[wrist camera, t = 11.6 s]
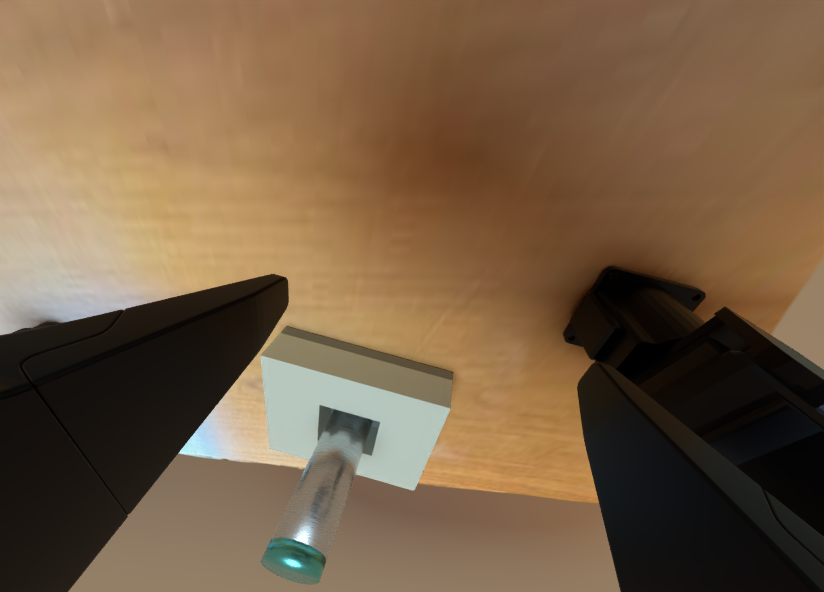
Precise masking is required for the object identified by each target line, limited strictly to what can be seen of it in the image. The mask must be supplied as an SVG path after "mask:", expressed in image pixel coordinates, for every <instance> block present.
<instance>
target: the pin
mask: <svg viewBox="0 0 824 592" xmlns="http://www.w3.org/2000/svg"><path fill="white" fill-rule="evenodd" d="M372 423H373V420H371V419H368V418H364V417H361V416H357V415H354V414H350V413H347V412H343V411H339V410H336V409H334V410H333V412H332V414H331V416H330V418H329V421H328V423H327V425H326V427H325V429H324V431H323V433H322V435H321V437H320V439H319V441H318V443H317V445H316V447H315V449H314V452H313V454H312V456H311V458H310V460H309V462H308V464H307V466H306V468H305V470H304V472H303V474H302V476H301V478H300V480H299V483H298V485H297V487H296V489H295V491H294V493H293V495H292V497H291V499H290V501H289V503H288V505H287V507H286V510H285V512H284V514H283V516H282V518H281V520H280V522H279V524H278V526H277V528H276V530H275V532H274V535H273V536H272V538H271V540H270V543H269V545H268V547H267V549H266V551H265V553H264V555H263V557H262V559H261V563H262V565H263V566H264V567H265V568H266V569H268V570H269V571H271V572H272V573H274V574H276V575H278V576H280V577H282V578H285V579H287V580H290V581H294V582H297V583H302V584H317V583H319V581H320V578H321V575H322V572H323V569H324V566H325V563H326V560H327V557H328V554H329V551H330V548H331V545H332V542H333V539H334V536H335V533H336V531H337V528H338V524H339V521H340V519H341V516H342V512H343V510H344V506H345V503H346V501H347V497H348V495H349V491H350V489H351V486H352V483H353V480H354V476H355V474H356V471H357V468H358V465H359V462H360V459H361V456H362V453H363V450H364V447H365V444H366V441H367V438H368V435H369V432H370V429H371V426H372Z"/></svg>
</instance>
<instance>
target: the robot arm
mask: <svg viewBox="0 0 824 592" xmlns="http://www.w3.org/2000/svg"><path fill="white" fill-rule="evenodd" d="M613 272H615V274H614V275H613V276H611V277H610V276H609V274H610V273H613ZM695 294H696V296H695V297H692V296H693V295H695ZM704 298H705V293H704V292H703V291H702V290H700V289H698V288H695V287H691V286H687V285H684V284H680V283H676V282H672V281H668V280H664V279H661V278H657V277H653V276H649V275H645V274H641V273H637V272H634V271H630V270H626V269H622V268H618V267H613V266H611V267H608V268H606V269H605V270H604V271H603V272H602V274H601V275H600V277H599V279H598V280H597V282H596V283H595V285H594V286H593V288H592V290H591V291H590V292H589V293H587V294H586V296H585V297H584V299H583V301H582V302H581V304H580V305H579V307H578V308H577V310H576V312H575V313H574V315H573V316H572V318H571V320H570V321H571V323H570V324H569V326H568V327H567V329H566V331H565V332H564V334H563V337H564V339H565V341H566V342H567V343H570V344H574V345H578V346H582V347H584V349H585V351H586V353H587V355H588V357H589V358H590V359H591V360H594V361H595V363H593V364H592V365H591V366H590V367H589V369H588V370H587V371H586V373H585V374H584V375H583V376H582V378H581V379H580V381H579V383H578V386H577V391H578V399H579V406H580V414H581V422H582V429H583V436H584V441H585V446H586V451H587V455H588V459H589V463H590V467H591V471H592V475H593V479H594V484H595V488H596V492H597V496H598V500H599V504H600V508H601V512H602V517H603V520H604V525H605V529H606V533H607V537H608V541H609V545H610V550H611V554H612V558H613V562H614V566H615V570H616V574H617V578H618V583H619V587H620V591H621V592H824V370H823V369H821V368H820V367H819V366H817V365H816V364H814V363H813V362H811V361H810V360H808V359H807V358H805V357H804V356H803V355H801V354H800V353H798V352H797V351H795V350H794V349H792V348H790V347H789V346H787V345H786V344H784V343H783V342H781V341H779V340H778V339H776V338H775V337H773V336H771V335H770V334H768V333H767V332H765V331H764V330H762V329H760V328H759V327H757V326H756V325H754V324H752V323H751V322H749V321H748V320H746V319H745V318H743V317H741V316H740V315H738V314H737V313H735V312H733V311H732V310H730V309H729V308H727V307H723V308H722V309H720V310H719V311H718V312H716V313H715V315H716V316H715V317H713V318H712V319H710V320H709V321H707V322H706V323H705V322H704V321H703V320H702V319H700V318H699V317H698V316H697V315H696V314H695V313H693V311H694V310H695V309H696V308H697V306H698V305H699V304H700V303H701V302H702V301H703V300H704ZM288 302H289V296H288V280H287V278H286V277H283V276H279V275H276V274H270V275H265V276H261V277H257V278H253V279H249V280H244V281H240V282H236V283H232V284H227V285H223V286H219V287H215V288H211V289H206V290H202V291H198V292H194V293H190V294H185V295H181V296H177V297H173V298H168V299H164V300H160V301H156V302H152V303H147V304H143V305H139V306H135V307H131V308H126V309H125V310H117V311H113V312H109V313H105V314H101V315H96V316H92V317H87V318H83V319H79V320H74V321H70V322H65V323H60V324H55V325H50V326H45V327H40V328H35V329H30V330H25V331H20V332H15V333H10V334H5V335H0V592H68V591H69V590H70V589H71V587H72V586H73V585H74V584H75V582H76V581H77V580H78V579H79V577H80V576H81V575H82V574H83V572H84V571H85V570H86V568H87V567H88V566H89V565H90V563H91V562H92V561H93V560H94V559H95V557H96V556H97V555H98V553H99V552H100V551H101V550H102V548H103V547H104V546H105V545H106V544H107V542H108V541H109V540H110V538H111V537H112V536H113V535H114V533H115V532H116V531H117V530H118V528H119V527H120V526H121V525H122V523H123V522H124V521H125V520H126V518H127V517H128V514H130V513H131V512H132V510H133V509H134V508H135V507H136V505H137V504H138V503H139V502H140V500H141V499H142V498H143V496H144V495H145V494H146V493H147V492H148V490H149V489H150V488H151V487H152V485H153V484H154V483H155V481H156V480H157V479H158V478H159V476H160V475H161V474H162V473H163V472H164V470H165V469H166V468H167V467H168V465H169V464H170V463H171V462H172V460H173V459H174V458H175V457H176V455H177V454H178V453H179V452H180V450H181V449H182V448H183V447H184V445H185V444H186V443H187V441H188V440H189V439H190V438H191V436H192V435H193V434H194V433H195V431H196V430H197V429H198V428H199V426H200V425H201V424H202V423H203V421H204V420H205V419H206V418H207V416H208V415H209V414H210V413H211V411H212V410H213V409H214V408H215V406H216V405H217V404H218V403H219V401H220V400H221V399H222V398H223V396H224V395H225V394H226V393H227V391H228V390H229V389H230V388H231V386H232V385H233V384H234V383H235V381H236V380H237V379H238V378H239V376H240V375H241V374H242V373H243V371H244V370H245V369H246V367H247V366H248V365H249V364H250V362H251V361H252V360H253V359H254V357H255V356H256V355H257V354H258V352H259V351H260V350H261V348H262V347H263V345H264V344H265V342H266V341H267V339H268V337H269V336H270V334H271V333H272V331H273V329H274V328H275V326H276V325H277V323H278V321H279V320H280V318H281V317H282V315H283V313H284V312H285V310H286V308H287V306H288ZM571 335H573V337H569V336H571Z"/></svg>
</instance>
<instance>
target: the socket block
mask: <svg viewBox="0 0 824 592" xmlns="http://www.w3.org/2000/svg"><path fill="white" fill-rule="evenodd" d="M261 365H262V376H263V386H264V396H265V406H266V416H267V427H268V437H269V447H270V449H272V450H275V451H278V452H282V453H285V454H289V455H292V456H296V457H299V458H303V459H306V460H310V458H311V456H312V454H313V452H314V449H315V447H316V445H317V443H318V441H319V439H320V437H321V435H322V433H323V431H324V429H325V427H326V425H327V423H328V421H329V418H330V416H331V414H332V412H333V410H334V409H336V410H339V411H343V412H347V413H350V414H354V415H357V416H361V417H364V418H368V419H371V420H373V423H372V426H371V429H370V432H369V435H368V438H367V441H366V444H365V447H364V450H363V453H362V456H361V459H360V462H359V465H358V468H357V471H356V474H358V475H361V476H365V477H368V478H371V479H375V480H378V481H382V482H386V483H389V484H392V485H396V486H399V487H403V488H406V489H410V490H413V491H414V490H415V488H416V485H417V483H418V481H419V479H420V476H421V474H422V472H423V470H424V467H425V465H426V463H427V461H428V458H429V456H430V454H431V452H432V449H433V447H434V445H435V443H436V440H437V438H438V436H439V434H440V431H441V429H442V427H443V425H444V422H445V420H446V418H447V416H448V413H449V411H450V409H451V394H452V378H453V372H450V371H447V370H443V369H439V368H436V367H432V366H428V365H425V364H421V363H418V362H414V361H410V360H407V359H403V358H399V357H396V356H392V355H389V354H385V353H381V352H378V351H374V350H370V349H367V348H363V347H360V346H356V345H352V344H349V343H345V342H342V341H338V340H334V339H331V338H327V337H323V336H320V335H316V334H313V333H309V332H305V331H302V330H298V329H294V328H291V327H287V326H286V327H285V328H284V329H283V331H282V332H281V333H280V334H279V335H278V336H277V337H276V338H275V340H274V341H273V342H272V343H271V344H270V345H269V346H268V347H267V349H266V350H265V351H264V352H263V353H262V354H261Z"/></svg>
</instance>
